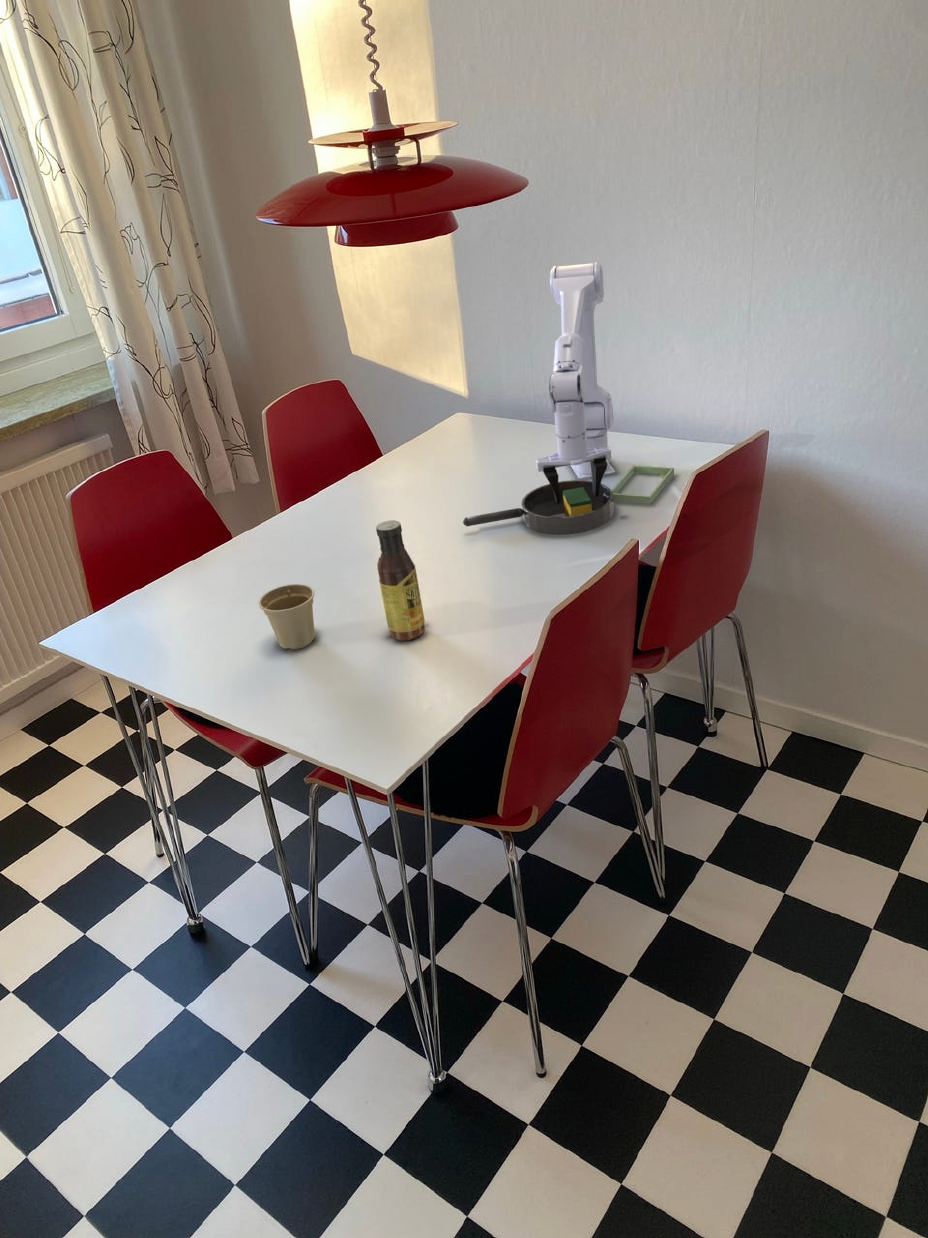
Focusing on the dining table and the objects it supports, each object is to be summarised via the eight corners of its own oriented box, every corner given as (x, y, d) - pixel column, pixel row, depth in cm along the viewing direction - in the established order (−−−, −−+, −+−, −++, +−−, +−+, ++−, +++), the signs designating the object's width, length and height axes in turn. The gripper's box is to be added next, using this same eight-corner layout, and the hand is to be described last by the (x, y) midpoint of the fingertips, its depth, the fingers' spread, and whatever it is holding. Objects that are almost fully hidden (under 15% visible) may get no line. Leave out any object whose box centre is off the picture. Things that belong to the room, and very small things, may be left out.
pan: (517, 507, 204) (514, 489, 202) (601, 492, 205) (600, 474, 203) (532, 543, 189) (530, 524, 187) (624, 526, 189) (623, 507, 187)
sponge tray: (633, 473, 211) (633, 465, 210) (674, 476, 207) (674, 467, 206) (608, 502, 200) (607, 493, 199) (651, 505, 196) (650, 497, 195)
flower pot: (299, 621, 175) (288, 578, 170) (336, 634, 169) (325, 590, 165) (259, 646, 169) (247, 603, 165) (295, 660, 163) (283, 616, 159)
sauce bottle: (421, 642, 163) (401, 534, 153) (385, 642, 164) (363, 535, 154) (430, 621, 168) (411, 516, 158) (395, 622, 170) (374, 517, 160)
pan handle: (523, 514, 196) (522, 505, 195) (524, 517, 195) (523, 509, 194) (463, 524, 196) (461, 516, 195) (464, 528, 194) (463, 520, 193)
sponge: (564, 507, 200) (562, 490, 198) (584, 504, 200) (583, 486, 198) (571, 521, 194) (570, 503, 192) (592, 517, 194) (591, 500, 192)
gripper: (537, 446, 185) (544, 512, 191) (613, 433, 185) (617, 499, 192) (531, 434, 191) (538, 498, 197) (604, 421, 191) (608, 486, 198)
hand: (576, 498), depth 195 cm, fingers open, 7 cm apart
